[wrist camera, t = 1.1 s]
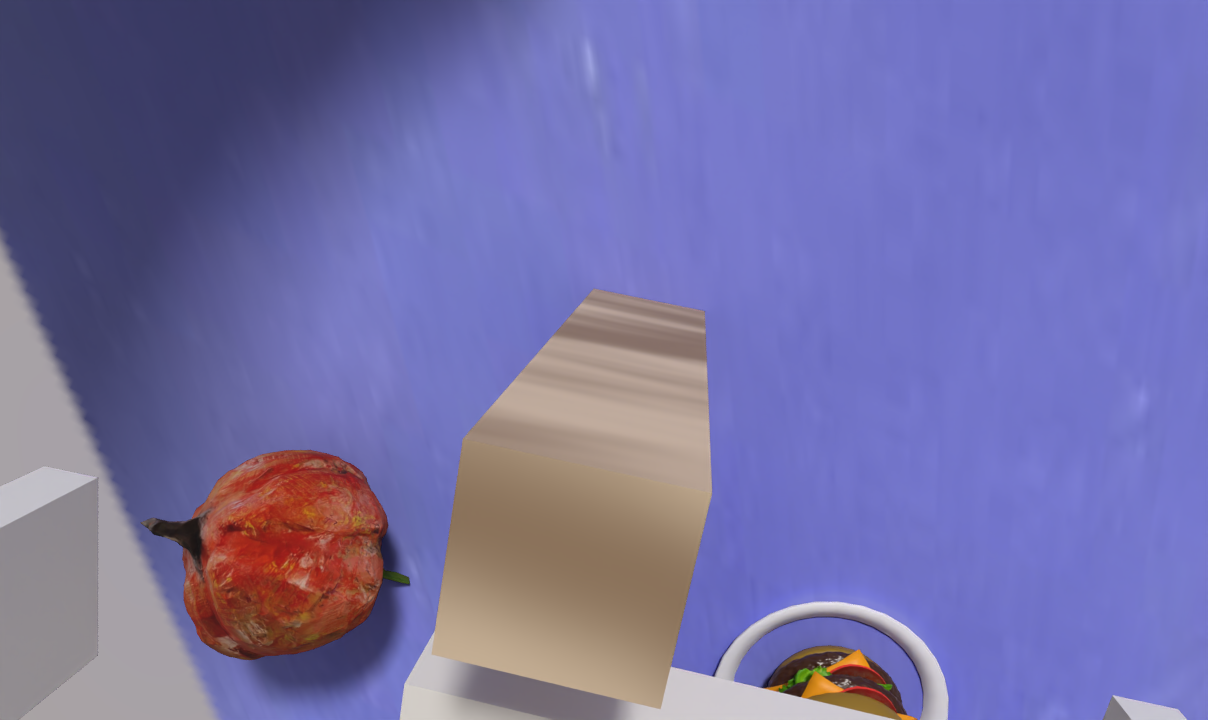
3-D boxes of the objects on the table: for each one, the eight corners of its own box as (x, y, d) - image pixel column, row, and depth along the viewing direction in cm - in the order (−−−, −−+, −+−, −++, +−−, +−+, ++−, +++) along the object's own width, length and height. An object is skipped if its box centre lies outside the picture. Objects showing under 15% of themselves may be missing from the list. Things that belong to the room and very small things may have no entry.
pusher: (593, 288, 28) (463, 438, 12) (704, 311, 28) (711, 493, 12) (518, 701, 32) (353, 1190, 17) (613, 724, 32) (533, 1243, 17)
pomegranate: (461, 468, 33) (243, 364, 26) (481, 635, 28) (217, 559, 21) (345, 550, 35) (118, 475, 28) (344, 717, 30) (70, 672, 24)
